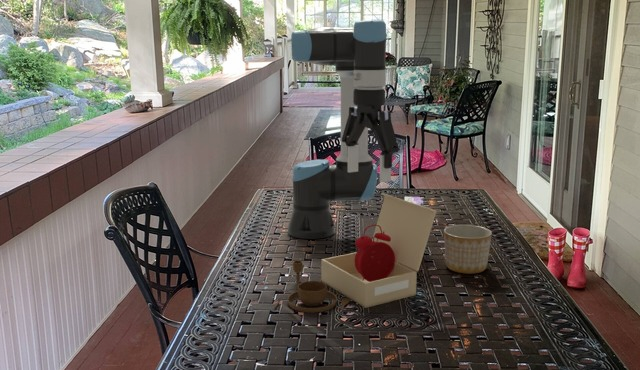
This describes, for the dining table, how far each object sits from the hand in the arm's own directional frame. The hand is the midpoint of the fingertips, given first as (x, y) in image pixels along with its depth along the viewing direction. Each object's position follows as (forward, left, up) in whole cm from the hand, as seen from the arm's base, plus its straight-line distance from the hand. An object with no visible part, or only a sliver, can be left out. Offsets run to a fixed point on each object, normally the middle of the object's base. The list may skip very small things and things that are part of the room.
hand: (368, 176), depth 155 cm
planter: (+2, +32, -29) cm, 43 cm away
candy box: (-13, +24, -29) cm, 40 cm away
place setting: (-2, -14, -29) cm, 33 cm away
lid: (0, +8, -22) cm, 24 cm away
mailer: (0, 0, -29) cm, 29 cm away
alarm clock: (+2, +2, -28) cm, 28 cm away
